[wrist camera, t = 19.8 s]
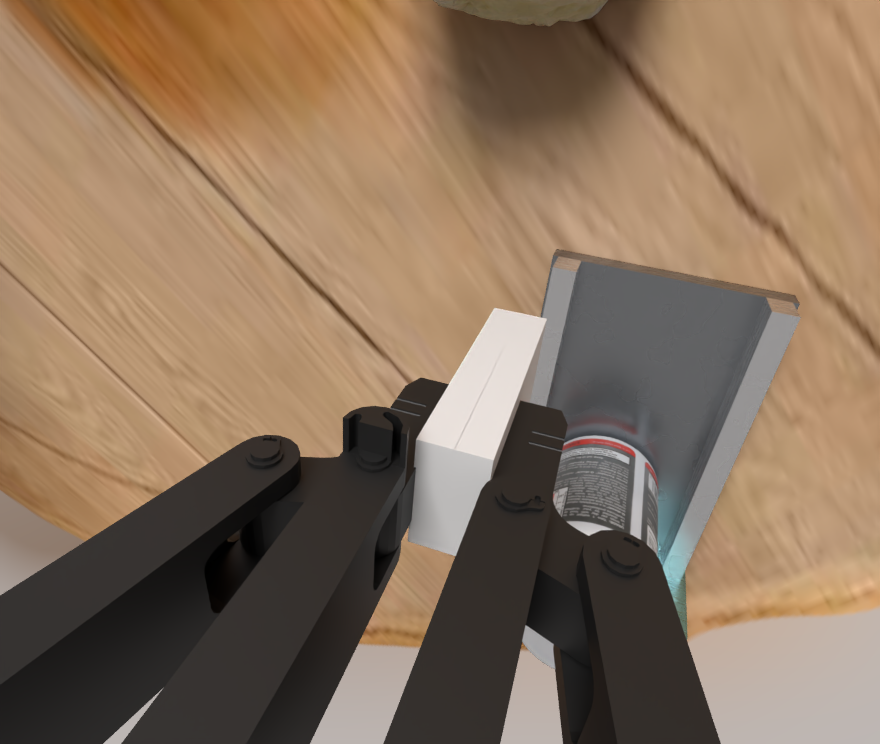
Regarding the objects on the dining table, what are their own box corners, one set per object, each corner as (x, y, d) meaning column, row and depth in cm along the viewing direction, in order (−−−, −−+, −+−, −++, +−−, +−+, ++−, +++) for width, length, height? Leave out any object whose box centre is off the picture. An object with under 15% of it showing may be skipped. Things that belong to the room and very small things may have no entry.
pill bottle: (524, 475, 31) (473, 622, 23) (591, 410, 28) (559, 554, 20) (608, 537, 31) (587, 707, 23) (684, 479, 28) (691, 652, 20)
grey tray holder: (556, 249, 26) (530, 292, 21) (794, 295, 23) (829, 357, 18) (504, 506, 34) (476, 582, 29) (677, 561, 32) (679, 654, 27)
